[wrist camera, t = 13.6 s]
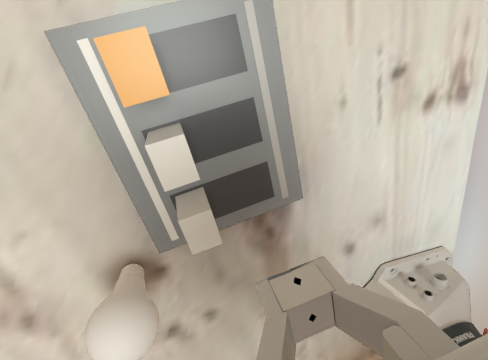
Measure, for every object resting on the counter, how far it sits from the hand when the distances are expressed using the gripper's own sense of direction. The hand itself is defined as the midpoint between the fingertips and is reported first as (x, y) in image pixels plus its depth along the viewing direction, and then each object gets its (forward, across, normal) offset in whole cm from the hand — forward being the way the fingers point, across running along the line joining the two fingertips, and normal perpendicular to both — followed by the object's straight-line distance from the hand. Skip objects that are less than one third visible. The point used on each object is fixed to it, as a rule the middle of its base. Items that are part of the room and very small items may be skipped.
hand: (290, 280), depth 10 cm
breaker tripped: (+17, -4, +10) cm, 20 cm away
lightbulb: (+20, -14, -10) cm, 26 cm away
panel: (+19, -1, +3) cm, 20 cm away
